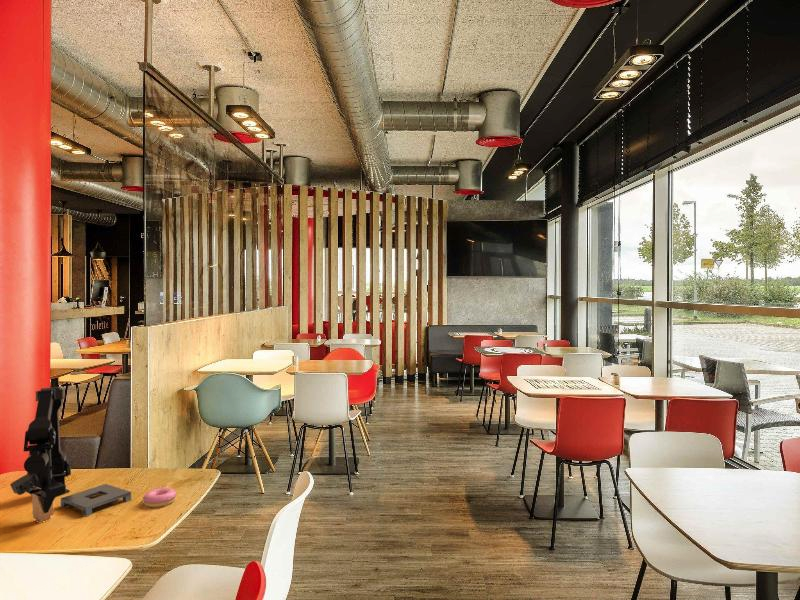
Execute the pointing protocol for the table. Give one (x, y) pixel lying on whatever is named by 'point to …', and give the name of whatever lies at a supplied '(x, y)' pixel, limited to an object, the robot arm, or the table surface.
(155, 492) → the doughnut
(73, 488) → the table surface
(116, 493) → the slotted plate
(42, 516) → the square wooden peg
